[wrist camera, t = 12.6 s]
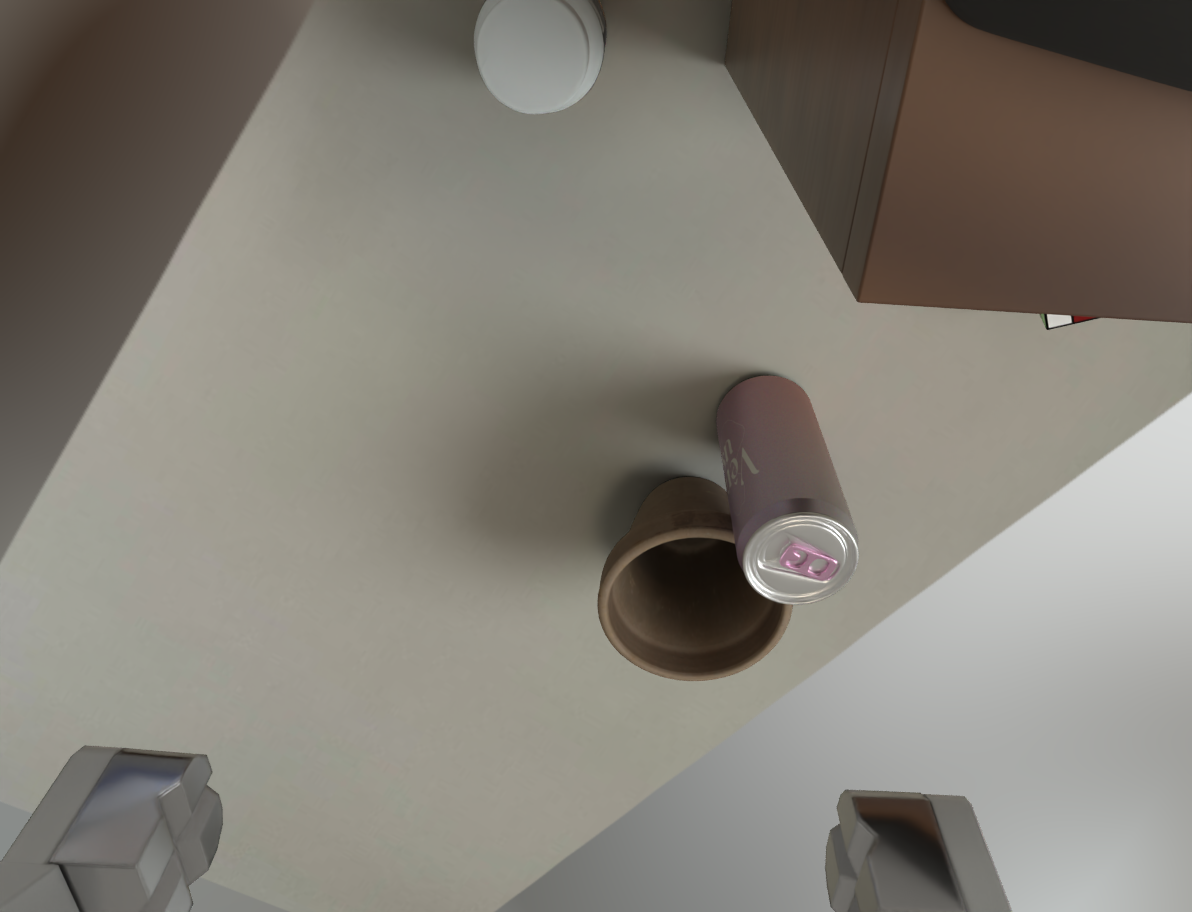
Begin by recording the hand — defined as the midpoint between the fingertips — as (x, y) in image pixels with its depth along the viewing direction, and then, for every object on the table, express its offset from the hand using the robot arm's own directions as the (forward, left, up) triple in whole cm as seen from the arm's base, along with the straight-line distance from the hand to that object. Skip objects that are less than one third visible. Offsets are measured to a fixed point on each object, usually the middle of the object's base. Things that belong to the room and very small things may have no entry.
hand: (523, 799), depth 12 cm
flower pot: (+25, +7, -42) cm, 50 cm away
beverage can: (+17, +11, -42) cm, 47 cm away
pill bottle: (-4, -3, -42) cm, 43 cm away
